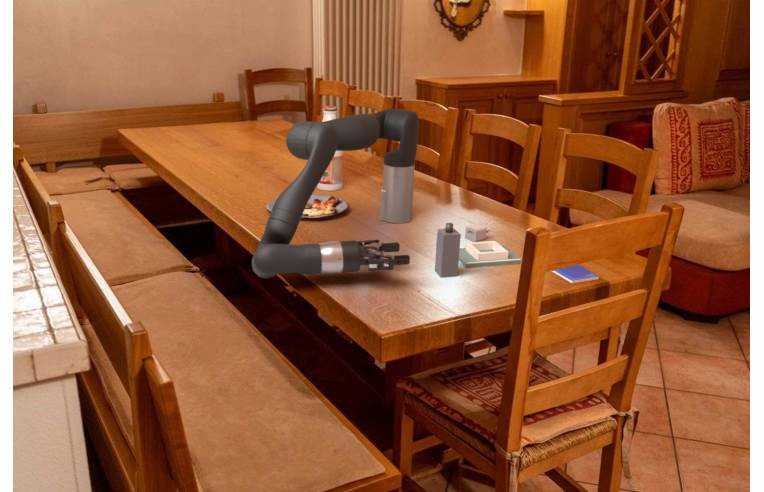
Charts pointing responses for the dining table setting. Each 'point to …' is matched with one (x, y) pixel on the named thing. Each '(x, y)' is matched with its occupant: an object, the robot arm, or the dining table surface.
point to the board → (486, 254)
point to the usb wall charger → (476, 232)
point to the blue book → (576, 274)
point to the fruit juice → (334, 172)
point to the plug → (447, 251)
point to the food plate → (320, 206)
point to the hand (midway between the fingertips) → (404, 253)
